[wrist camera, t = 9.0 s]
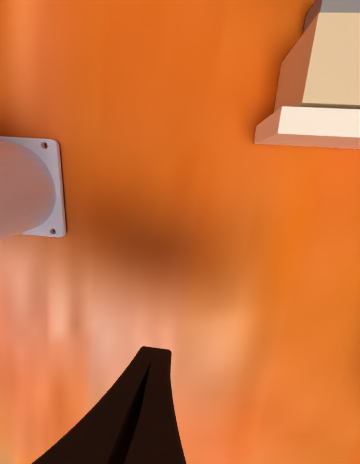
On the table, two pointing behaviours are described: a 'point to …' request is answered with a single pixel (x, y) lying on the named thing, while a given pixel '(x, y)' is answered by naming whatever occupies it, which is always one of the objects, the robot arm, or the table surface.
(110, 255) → the table surface
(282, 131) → the book rack
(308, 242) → the table surface
